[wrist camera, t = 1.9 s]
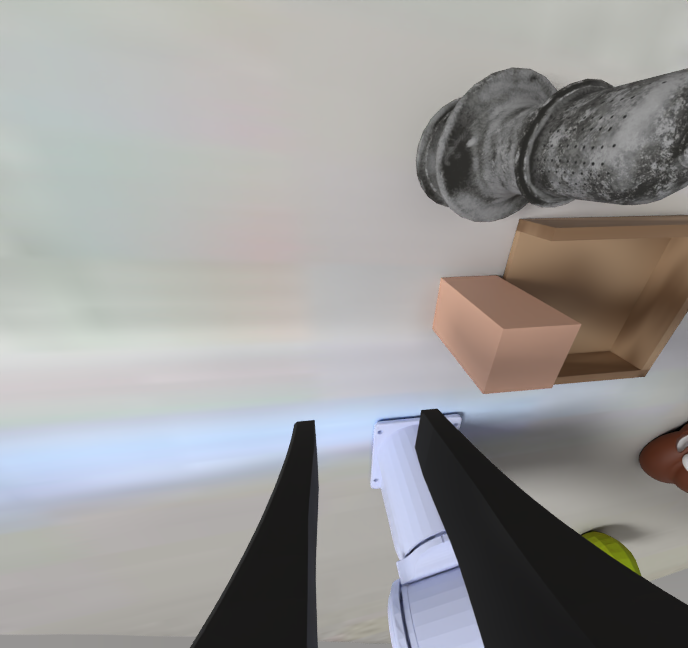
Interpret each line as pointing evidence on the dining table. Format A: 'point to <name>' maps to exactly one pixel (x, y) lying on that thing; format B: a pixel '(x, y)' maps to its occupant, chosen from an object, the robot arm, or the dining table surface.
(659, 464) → the poop emoji
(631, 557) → the fruit
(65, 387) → the dining table surface
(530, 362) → the tall block
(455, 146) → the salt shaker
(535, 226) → the walnut tray
